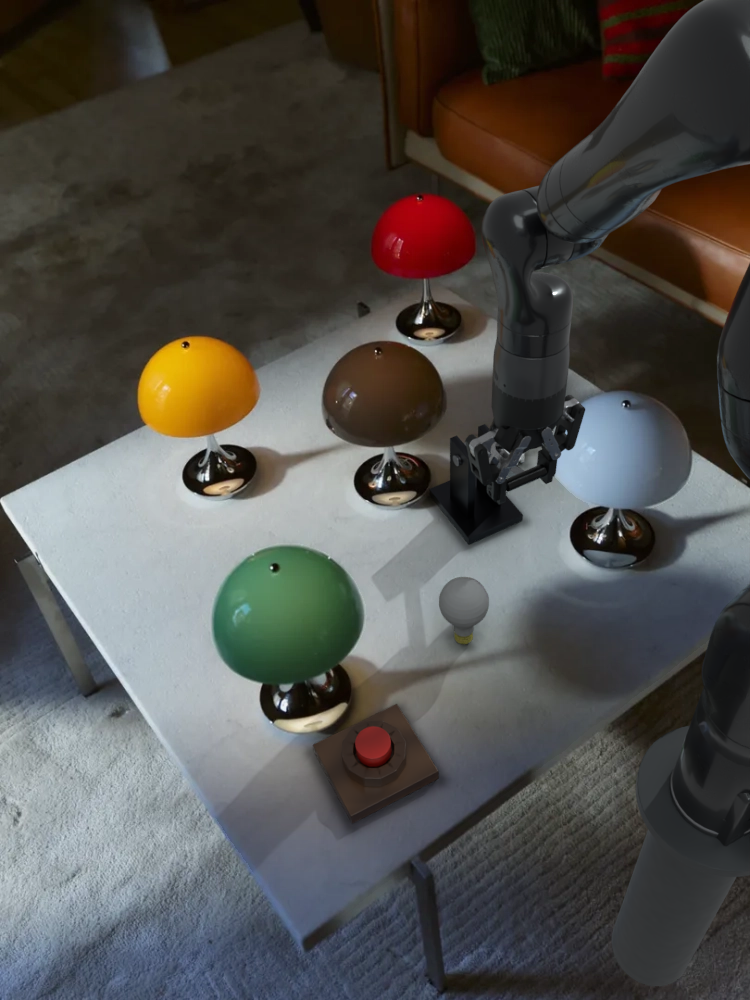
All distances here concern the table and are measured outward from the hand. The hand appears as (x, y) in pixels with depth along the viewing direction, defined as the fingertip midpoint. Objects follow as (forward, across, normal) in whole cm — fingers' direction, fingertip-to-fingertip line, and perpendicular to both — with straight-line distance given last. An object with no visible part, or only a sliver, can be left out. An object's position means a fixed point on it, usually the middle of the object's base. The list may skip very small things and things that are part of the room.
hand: (521, 488), depth 108 cm
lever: (+1, 0, +4) cm, 5 cm away
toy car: (+12, +9, +17) cm, 23 cm away
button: (+9, -28, -16) cm, 34 cm away
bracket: (+12, 0, +10) cm, 16 cm away
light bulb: (+12, -12, -7) cm, 19 cm away
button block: (+12, -28, -16) cm, 35 cm away
